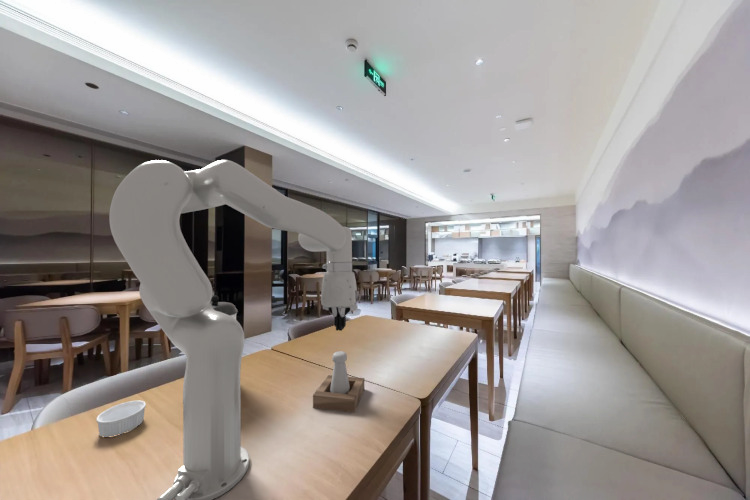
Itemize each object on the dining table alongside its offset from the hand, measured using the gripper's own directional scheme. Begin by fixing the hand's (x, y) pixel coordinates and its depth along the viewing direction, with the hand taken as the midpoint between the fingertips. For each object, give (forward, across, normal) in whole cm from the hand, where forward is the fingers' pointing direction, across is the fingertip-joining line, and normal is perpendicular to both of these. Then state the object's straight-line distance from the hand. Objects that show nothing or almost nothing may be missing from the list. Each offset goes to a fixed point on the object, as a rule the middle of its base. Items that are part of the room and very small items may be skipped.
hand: (340, 329), depth 78 cm
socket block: (+20, 0, 0) cm, 21 cm away
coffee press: (+21, -40, -3) cm, 45 cm away
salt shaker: (+20, 0, 0) cm, 20 cm away
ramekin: (+20, -50, -22) cm, 59 cm away
